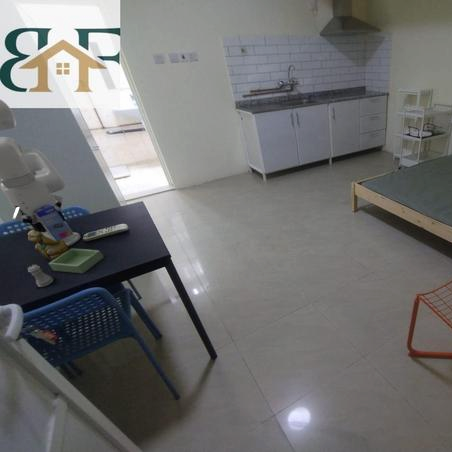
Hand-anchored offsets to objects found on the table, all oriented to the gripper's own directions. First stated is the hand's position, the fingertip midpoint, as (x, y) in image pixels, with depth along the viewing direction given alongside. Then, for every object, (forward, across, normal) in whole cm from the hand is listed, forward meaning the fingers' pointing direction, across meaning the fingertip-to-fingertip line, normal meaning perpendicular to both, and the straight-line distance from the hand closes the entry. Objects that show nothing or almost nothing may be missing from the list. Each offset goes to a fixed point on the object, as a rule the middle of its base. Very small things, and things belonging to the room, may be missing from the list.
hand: (52, 225), depth 101 cm
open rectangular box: (+18, 0, 0) cm, 18 cm away
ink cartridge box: (+4, 0, 0) cm, 4 cm away
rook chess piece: (+18, +11, -2) cm, 22 cm away
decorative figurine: (+18, -4, -15) cm, 24 cm away
